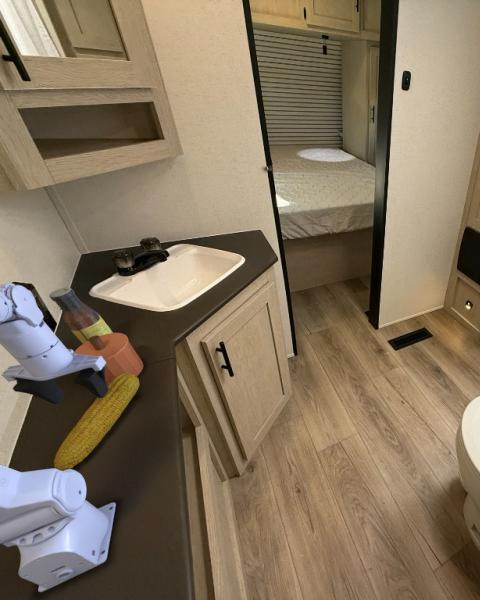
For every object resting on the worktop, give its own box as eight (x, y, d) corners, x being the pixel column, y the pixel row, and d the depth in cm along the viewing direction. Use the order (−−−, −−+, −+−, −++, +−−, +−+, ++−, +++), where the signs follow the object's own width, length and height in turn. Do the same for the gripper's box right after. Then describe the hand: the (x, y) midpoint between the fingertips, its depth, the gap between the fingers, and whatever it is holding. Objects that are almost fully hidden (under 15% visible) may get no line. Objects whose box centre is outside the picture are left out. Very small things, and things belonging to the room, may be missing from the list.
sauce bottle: (126, 341, 89) (86, 282, 77) (116, 357, 84) (71, 297, 72) (99, 345, 88) (54, 285, 76) (87, 362, 83) (37, 300, 71)
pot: (141, 379, 78) (124, 355, 73) (91, 395, 74) (69, 370, 69) (145, 354, 85) (129, 330, 80) (99, 367, 81) (80, 342, 76)
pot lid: (126, 357, 73) (117, 345, 71) (69, 374, 69) (57, 361, 67) (132, 331, 81) (124, 318, 78) (80, 344, 77) (70, 331, 74)
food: (124, 386, 76) (111, 369, 73) (148, 385, 77) (137, 368, 73) (54, 477, 60) (33, 461, 56) (86, 474, 60) (67, 458, 56)
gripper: (97, 327, 59) (132, 376, 67) (5, 336, 56) (53, 386, 64) (73, 354, 53) (115, 404, 61) (-30, 366, 51) (27, 416, 59)
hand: (82, 396), depth 62 cm, fingers open, 7 cm apart
